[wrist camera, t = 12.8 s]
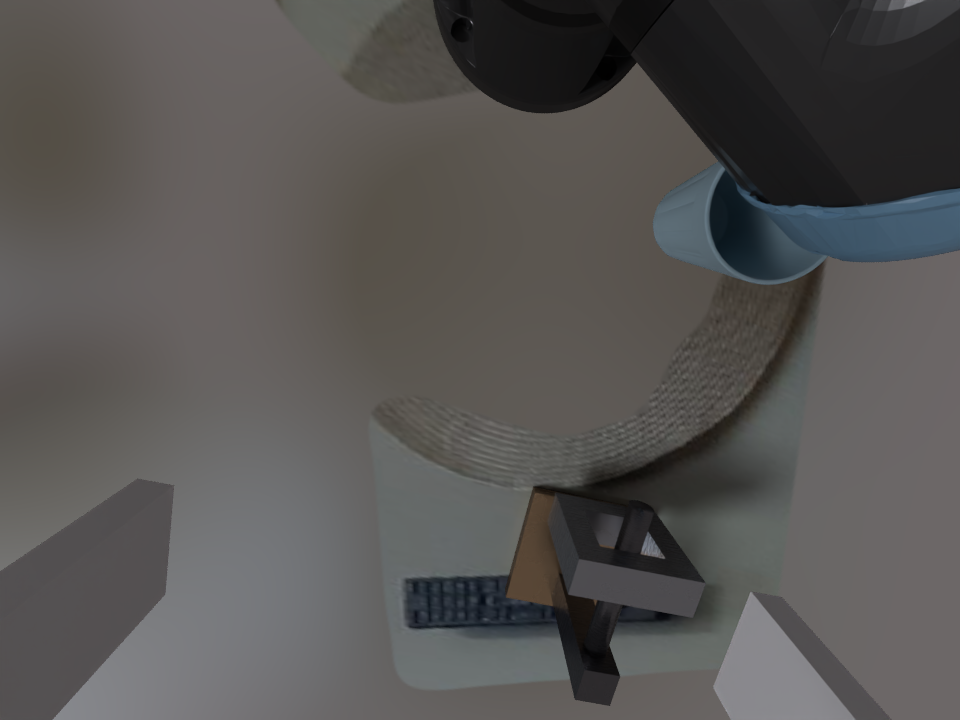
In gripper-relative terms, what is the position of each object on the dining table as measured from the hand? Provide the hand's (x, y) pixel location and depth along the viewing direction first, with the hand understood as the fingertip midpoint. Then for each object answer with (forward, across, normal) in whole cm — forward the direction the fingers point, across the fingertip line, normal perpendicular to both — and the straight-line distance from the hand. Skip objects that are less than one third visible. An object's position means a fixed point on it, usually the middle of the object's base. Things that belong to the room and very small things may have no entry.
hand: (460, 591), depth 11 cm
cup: (+27, +14, +13) cm, 33 cm away
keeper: (+27, +13, -13) cm, 32 cm away
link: (+24, +12, -10) cm, 28 cm away
